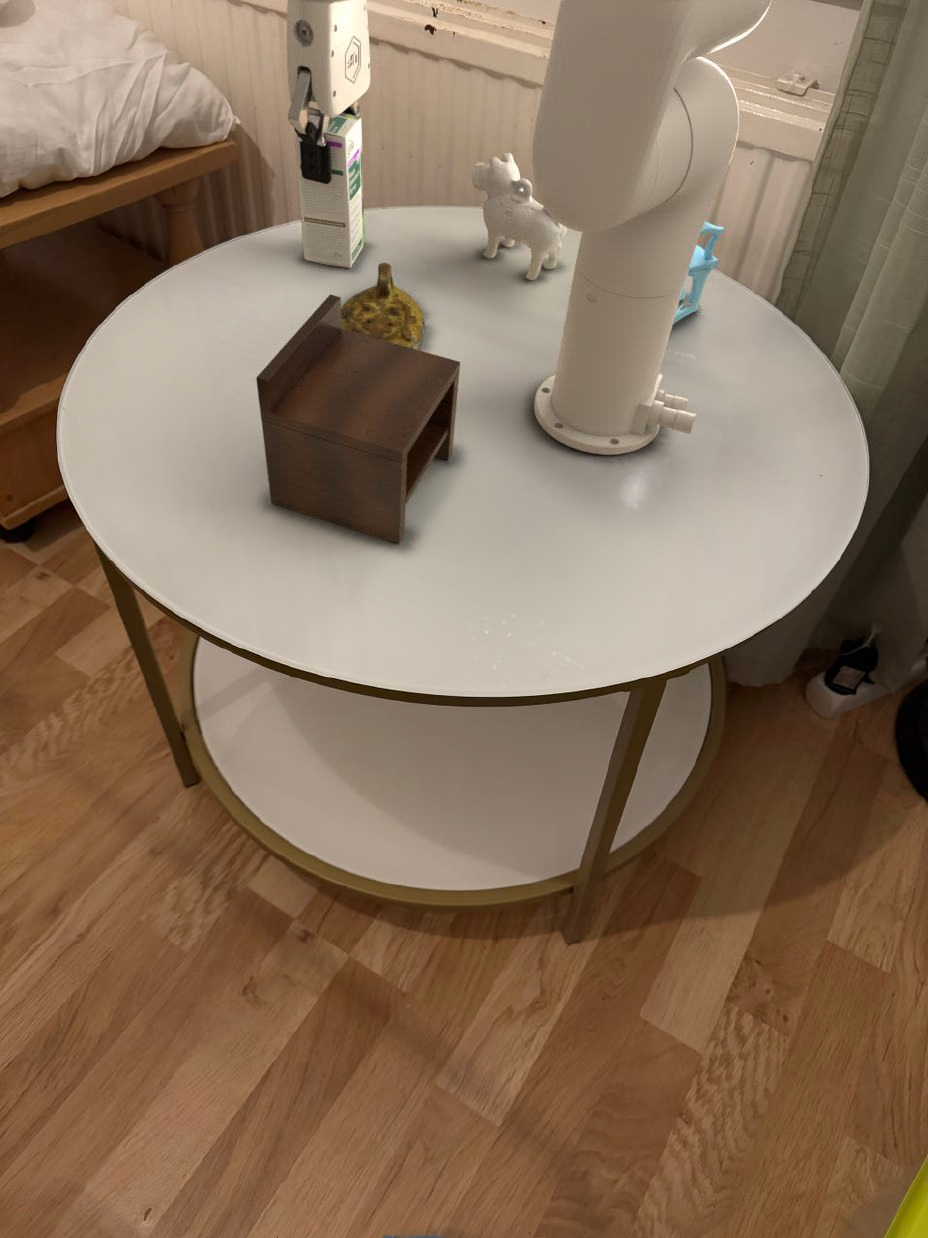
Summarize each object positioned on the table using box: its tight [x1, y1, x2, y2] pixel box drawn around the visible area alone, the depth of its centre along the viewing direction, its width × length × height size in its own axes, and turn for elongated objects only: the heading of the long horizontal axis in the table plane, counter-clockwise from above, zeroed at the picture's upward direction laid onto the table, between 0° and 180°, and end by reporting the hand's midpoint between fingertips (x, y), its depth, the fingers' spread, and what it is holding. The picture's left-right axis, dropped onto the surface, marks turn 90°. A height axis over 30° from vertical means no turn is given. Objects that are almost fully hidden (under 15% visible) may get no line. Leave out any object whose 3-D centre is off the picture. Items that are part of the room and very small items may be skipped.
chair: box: [673, 220, 725, 325], centre depth 98 cm, size 8×8×12 cm
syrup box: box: [293, 113, 366, 269], centre depth 100 cm, size 6×6×14 cm
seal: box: [341, 262, 426, 350], centre depth 95 cm, size 9×5×15 cm
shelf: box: [255, 294, 461, 545], centre depth 76 cm, size 12×13×13 cm
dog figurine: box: [471, 152, 568, 281], centre depth 104 cm, size 5×13×11 cm, turn 50°
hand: (330, 165), depth 98 cm, fingers closed on syrup box, 6 cm apart
